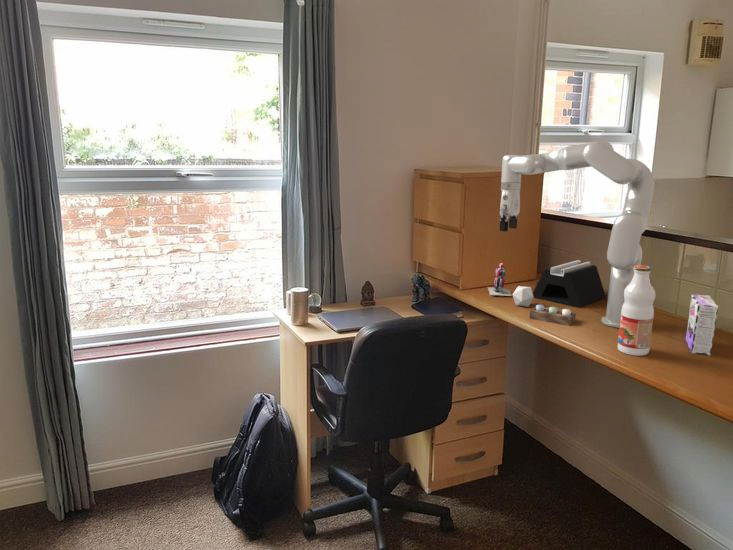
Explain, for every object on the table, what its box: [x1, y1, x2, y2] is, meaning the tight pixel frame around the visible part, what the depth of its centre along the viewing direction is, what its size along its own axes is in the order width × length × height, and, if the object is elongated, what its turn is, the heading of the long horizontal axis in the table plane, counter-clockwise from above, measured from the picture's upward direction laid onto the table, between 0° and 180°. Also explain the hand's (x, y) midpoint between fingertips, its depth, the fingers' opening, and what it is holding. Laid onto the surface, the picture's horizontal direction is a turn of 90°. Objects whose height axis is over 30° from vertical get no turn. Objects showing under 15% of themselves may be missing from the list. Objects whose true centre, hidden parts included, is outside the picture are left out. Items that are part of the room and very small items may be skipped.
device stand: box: [532, 259, 606, 309], centre depth 248 cm, size 22×22×15 cm
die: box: [511, 285, 535, 308], centre depth 237 cm, size 8×9×10 cm
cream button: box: [561, 308, 572, 316], centre depth 216 cm, size 3×3×4 cm
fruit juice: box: [617, 264, 656, 357], centre depth 183 cm, size 9×9×28 cm
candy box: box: [685, 293, 719, 356], centre depth 188 cm, size 14×6×16 cm, turn 159°
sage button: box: [548, 306, 558, 314], centre depth 219 cm, size 3×3×4 cm
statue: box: [487, 262, 513, 298], centre depth 254 cm, size 11×9×15 cm
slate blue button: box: [535, 304, 545, 311], centre depth 222 cm, size 3×3×4 cm
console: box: [529, 306, 577, 326], centre depth 219 cm, size 15×8×3 cm, turn 55°
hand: (508, 229), depth 232 cm, fingers open, 9 cm apart
